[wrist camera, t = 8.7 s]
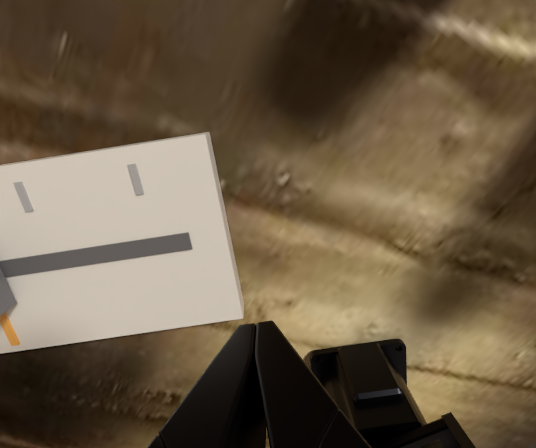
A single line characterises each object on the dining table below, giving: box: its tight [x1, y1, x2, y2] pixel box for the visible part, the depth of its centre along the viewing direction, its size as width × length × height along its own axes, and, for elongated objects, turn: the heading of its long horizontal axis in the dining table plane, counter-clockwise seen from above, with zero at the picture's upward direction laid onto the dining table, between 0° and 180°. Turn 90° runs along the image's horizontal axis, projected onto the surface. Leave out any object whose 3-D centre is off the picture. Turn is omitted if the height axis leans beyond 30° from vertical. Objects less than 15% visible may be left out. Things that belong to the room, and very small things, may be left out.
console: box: [0, 132, 244, 354], centre depth 19 cm, size 11×20×2 cm, turn 99°
